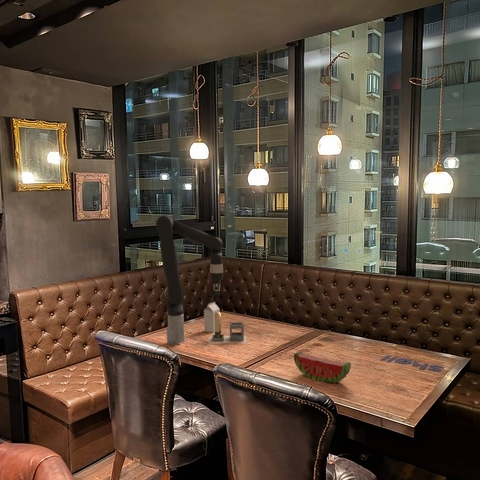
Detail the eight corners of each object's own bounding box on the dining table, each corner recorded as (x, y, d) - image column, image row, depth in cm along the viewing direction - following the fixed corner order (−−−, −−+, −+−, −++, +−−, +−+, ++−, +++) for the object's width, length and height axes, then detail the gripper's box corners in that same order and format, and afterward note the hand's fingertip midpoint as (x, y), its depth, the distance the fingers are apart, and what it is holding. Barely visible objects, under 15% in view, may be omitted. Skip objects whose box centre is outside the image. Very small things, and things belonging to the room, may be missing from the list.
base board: (208, 346, 249) (208, 343, 248) (209, 338, 262) (209, 336, 262) (246, 345, 249) (246, 342, 249) (245, 337, 263) (245, 335, 263)
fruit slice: (293, 374, 206) (293, 354, 205) (300, 370, 211) (300, 350, 210) (345, 388, 190) (345, 366, 189) (351, 383, 194) (351, 361, 194)
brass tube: (217, 341, 253) (217, 314, 252) (213, 339, 256) (213, 312, 254) (222, 339, 256) (222, 312, 254) (218, 338, 258) (217, 311, 257)
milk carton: (220, 331, 276) (219, 302, 274) (213, 334, 270) (212, 304, 268) (211, 330, 280) (210, 301, 278) (204, 333, 274) (203, 303, 272)
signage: (444, 366, 212) (438, 372, 204) (444, 367, 212) (438, 374, 204) (387, 354, 230) (380, 359, 222) (387, 355, 230) (380, 361, 222)
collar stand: (212, 341, 251) (211, 326, 251) (212, 337, 259) (212, 322, 259) (243, 341, 252) (243, 325, 251) (243, 336, 260) (243, 322, 259)
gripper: (223, 273, 245) (223, 301, 247) (223, 269, 259) (223, 296, 261) (209, 273, 245) (210, 301, 246) (210, 269, 259) (211, 296, 261)
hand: (217, 299), depth 254 cm, fingers open, 8 cm apart
